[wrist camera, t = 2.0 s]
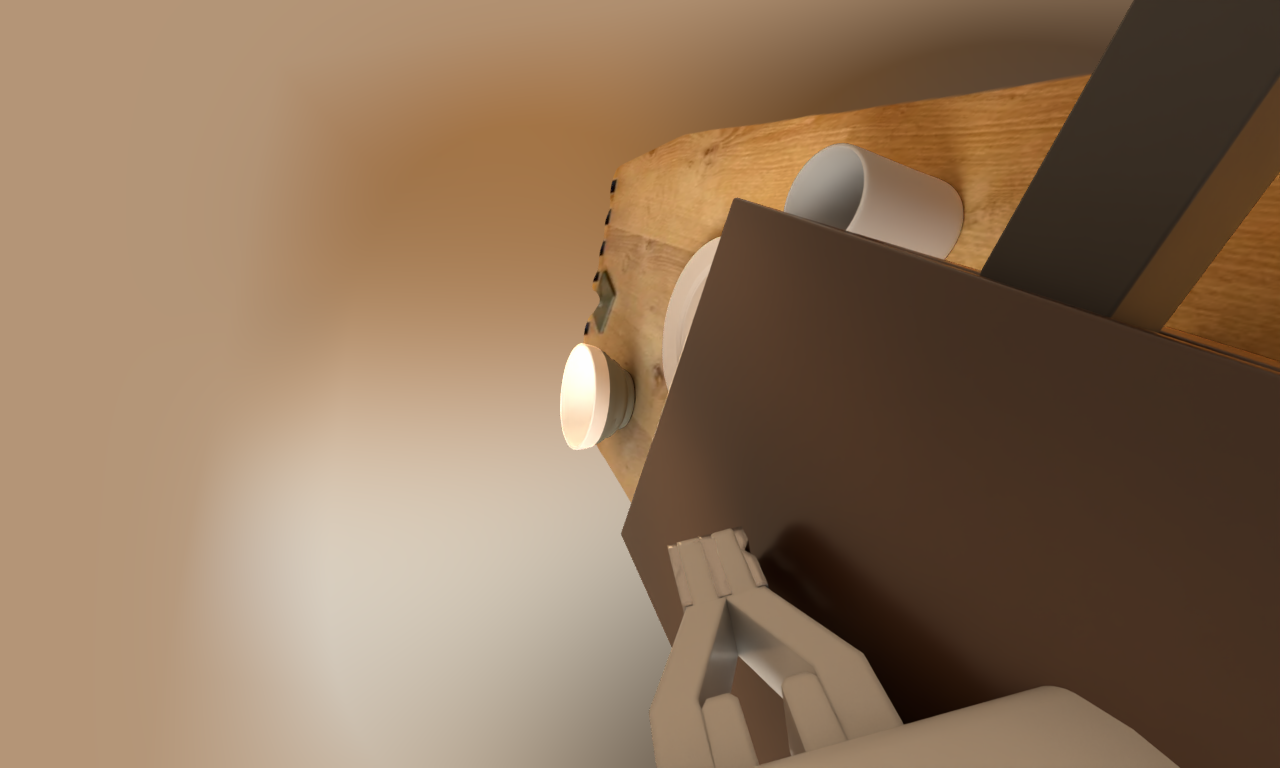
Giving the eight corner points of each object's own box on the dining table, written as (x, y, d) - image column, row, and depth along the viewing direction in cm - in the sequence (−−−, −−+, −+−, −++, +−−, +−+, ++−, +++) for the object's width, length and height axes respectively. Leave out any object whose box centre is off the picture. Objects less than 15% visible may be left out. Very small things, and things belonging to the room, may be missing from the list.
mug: (900, 172, 44) (808, 135, 39) (987, 189, 37) (889, 147, 32) (840, 298, 49) (752, 280, 44) (907, 333, 42) (813, 316, 37)
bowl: (606, 459, 99) (561, 459, 95) (601, 369, 105) (558, 365, 101) (651, 437, 83) (598, 435, 79) (641, 332, 89) (592, 325, 85)
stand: (1184, 332, 27) (725, 193, 13) (1728, 501, 16) (2288, 702, 2) (1053, 501, 32) (616, 526, 18) (1399, 724, 21) (927, 1224, 7)
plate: (797, 216, 55) (783, 212, 54) (775, 441, 56) (761, 441, 55) (681, 256, 78) (670, 254, 77) (666, 416, 78) (655, 415, 78)
